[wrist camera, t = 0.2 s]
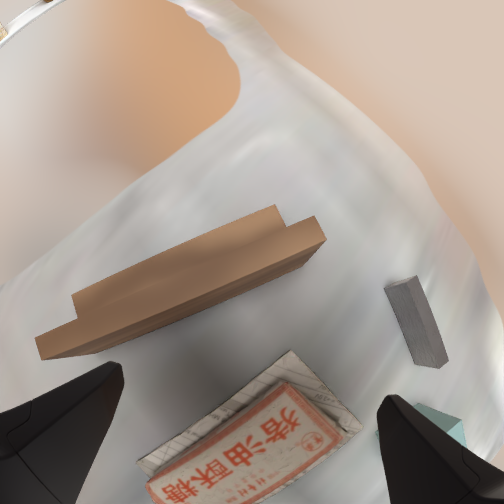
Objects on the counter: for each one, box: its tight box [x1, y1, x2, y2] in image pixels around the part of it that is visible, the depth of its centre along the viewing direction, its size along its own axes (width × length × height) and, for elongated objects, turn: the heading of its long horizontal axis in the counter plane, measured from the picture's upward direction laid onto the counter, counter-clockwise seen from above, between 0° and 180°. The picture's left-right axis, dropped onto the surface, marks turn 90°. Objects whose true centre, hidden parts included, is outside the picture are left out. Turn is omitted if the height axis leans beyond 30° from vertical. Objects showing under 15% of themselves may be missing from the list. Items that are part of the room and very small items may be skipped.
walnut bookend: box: [35, 204, 327, 360], centre depth 20 cm, size 6×20×8 cm, turn 114°
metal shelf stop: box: [384, 275, 449, 369], centre depth 21 cm, size 8×1×4 cm, turn 24°
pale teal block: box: [376, 403, 467, 448], centre depth 17 cm, size 4×5×7 cm
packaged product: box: [136, 350, 363, 504], centre depth 18 cm, size 18×5×10 cm
